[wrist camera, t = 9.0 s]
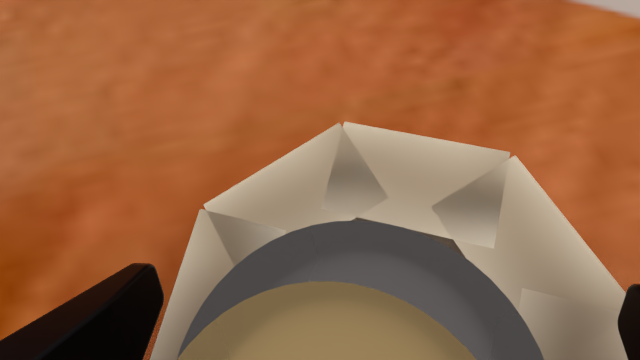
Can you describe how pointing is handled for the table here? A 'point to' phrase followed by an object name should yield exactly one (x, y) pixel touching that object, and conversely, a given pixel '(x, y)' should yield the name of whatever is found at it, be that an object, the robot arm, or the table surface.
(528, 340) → the bottle
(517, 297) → the cream octagonal ring
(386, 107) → the table surface
